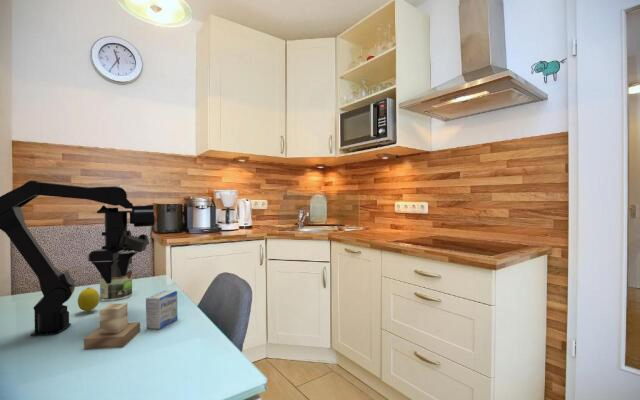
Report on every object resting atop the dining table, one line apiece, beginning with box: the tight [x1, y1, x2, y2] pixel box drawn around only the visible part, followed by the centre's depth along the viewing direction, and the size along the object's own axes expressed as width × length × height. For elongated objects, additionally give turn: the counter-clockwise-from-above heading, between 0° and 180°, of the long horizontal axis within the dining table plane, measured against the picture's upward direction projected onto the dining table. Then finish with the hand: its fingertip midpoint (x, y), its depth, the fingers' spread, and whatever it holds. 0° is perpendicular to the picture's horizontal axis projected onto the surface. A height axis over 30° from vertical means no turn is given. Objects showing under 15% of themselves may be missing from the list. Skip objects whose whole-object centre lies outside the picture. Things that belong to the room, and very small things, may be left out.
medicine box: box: [145, 289, 178, 330], centre depth 91 cm, size 8×4×9 cm, turn 168°
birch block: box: [98, 302, 129, 334], centre depth 81 cm, size 4×4×6 cm
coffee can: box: [99, 257, 133, 302], centre depth 116 cm, size 10×10×14 cm
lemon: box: [77, 287, 100, 313], centre depth 100 cm, size 6×6×8 cm
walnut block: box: [83, 321, 141, 350], centre depth 80 cm, size 9×9×3 cm
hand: (116, 279), depth 94 cm, fingers open, 9 cm apart
